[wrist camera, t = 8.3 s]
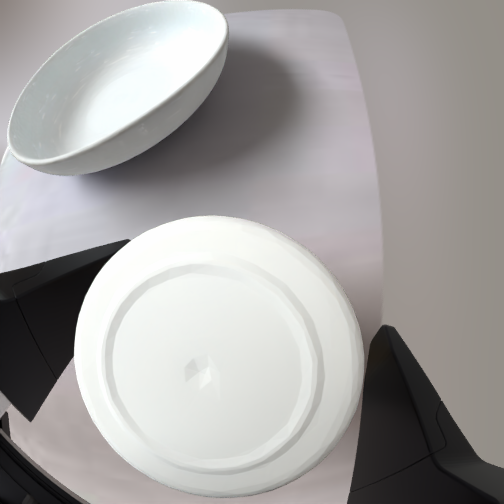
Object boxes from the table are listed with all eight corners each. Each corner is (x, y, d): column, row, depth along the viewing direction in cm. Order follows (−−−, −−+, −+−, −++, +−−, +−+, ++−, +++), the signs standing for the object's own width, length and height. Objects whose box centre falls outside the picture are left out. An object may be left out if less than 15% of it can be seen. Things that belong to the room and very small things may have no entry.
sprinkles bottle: (280, 286, 17) (319, 172, 4) (299, 359, 16) (395, 465, 3) (206, 305, 17) (48, 252, 4) (225, 377, 16) (114, 505, 3)
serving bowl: (246, 38, 25) (241, -12, 18) (220, 204, 19) (198, 148, 13) (88, 62, 26) (68, 27, 19) (21, 206, 21) (-24, 178, 14)
